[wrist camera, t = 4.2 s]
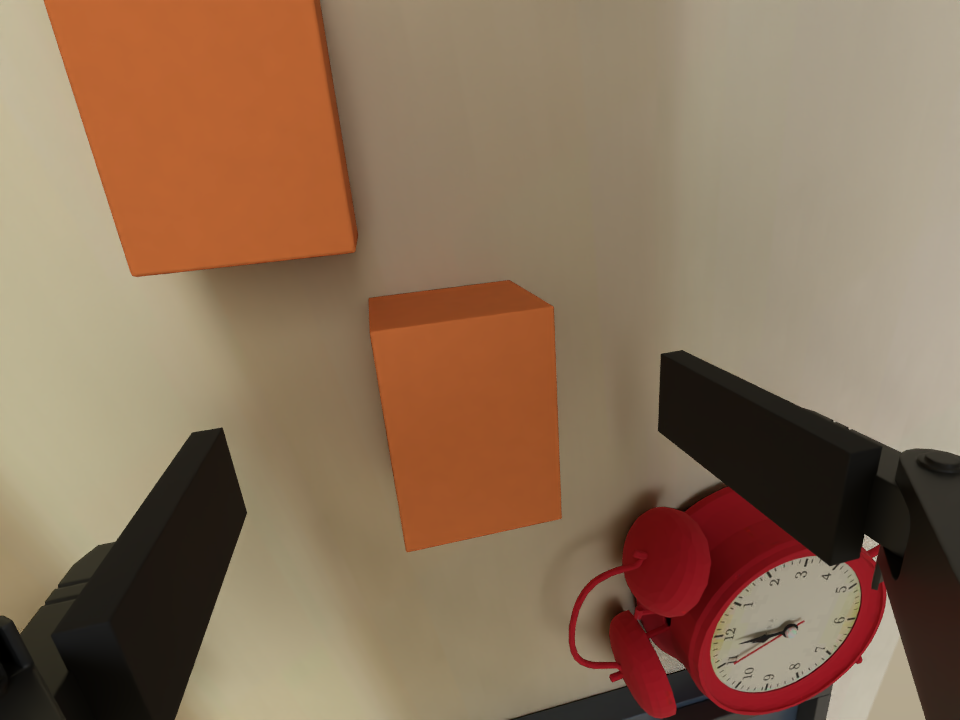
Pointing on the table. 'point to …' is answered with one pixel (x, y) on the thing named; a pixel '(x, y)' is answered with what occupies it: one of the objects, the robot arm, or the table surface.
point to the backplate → (696, 715)
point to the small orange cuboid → (468, 409)
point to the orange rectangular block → (210, 128)
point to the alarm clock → (735, 609)
